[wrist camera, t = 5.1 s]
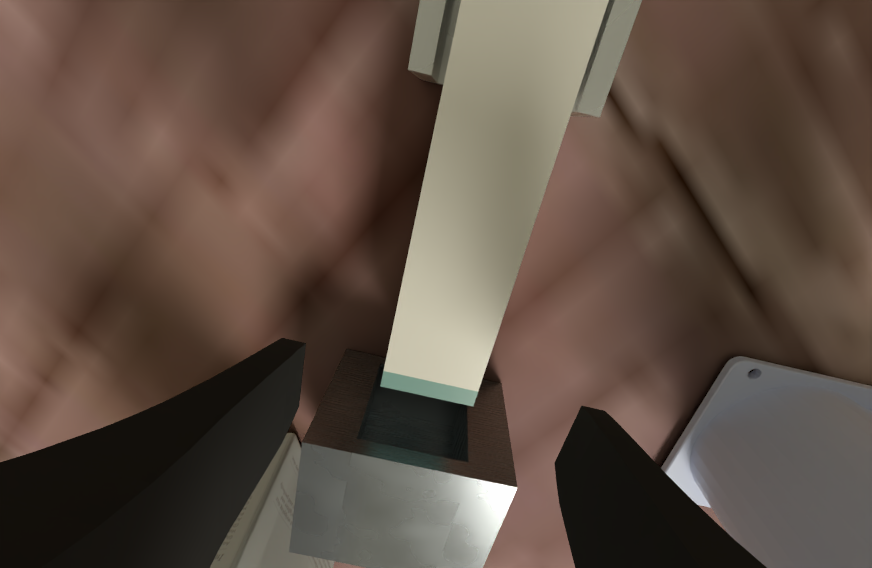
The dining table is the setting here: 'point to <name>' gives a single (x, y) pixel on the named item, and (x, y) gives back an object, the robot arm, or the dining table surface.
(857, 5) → the dining table surface
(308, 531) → the socket
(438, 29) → the sleeve
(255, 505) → the skincare box
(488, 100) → the inner rod
